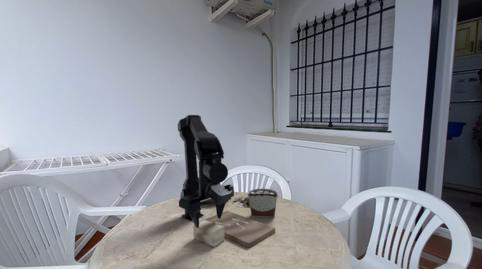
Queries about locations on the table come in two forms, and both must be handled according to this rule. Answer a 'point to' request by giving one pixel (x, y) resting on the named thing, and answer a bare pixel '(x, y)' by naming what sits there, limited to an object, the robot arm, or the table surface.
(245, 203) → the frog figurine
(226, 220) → the oak board
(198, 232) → the block
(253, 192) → the food container
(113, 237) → the table surface
